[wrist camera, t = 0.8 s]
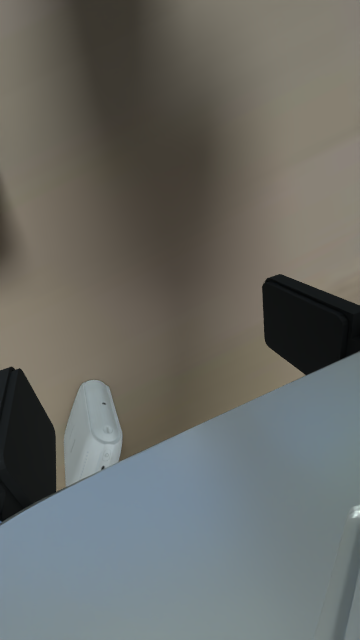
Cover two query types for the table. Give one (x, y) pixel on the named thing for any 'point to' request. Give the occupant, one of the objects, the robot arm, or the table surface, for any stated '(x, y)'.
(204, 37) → the table surface
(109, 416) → the photo printer
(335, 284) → the table surface
